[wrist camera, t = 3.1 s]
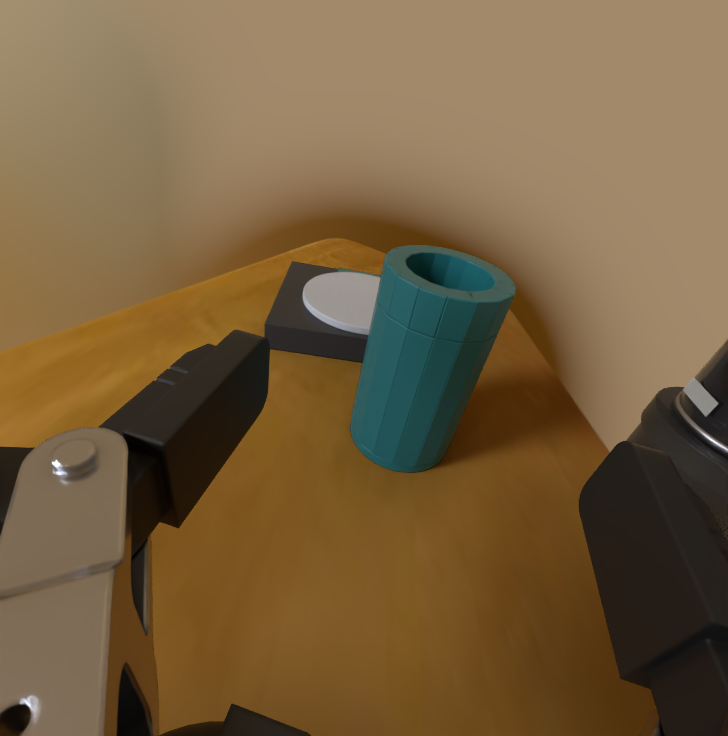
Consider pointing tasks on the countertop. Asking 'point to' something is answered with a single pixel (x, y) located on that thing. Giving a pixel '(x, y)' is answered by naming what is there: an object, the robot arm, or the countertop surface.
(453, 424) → the jar
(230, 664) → the countertop surface
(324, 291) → the scale
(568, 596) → the countertop surface
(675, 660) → the robot arm
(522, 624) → the countertop surface
